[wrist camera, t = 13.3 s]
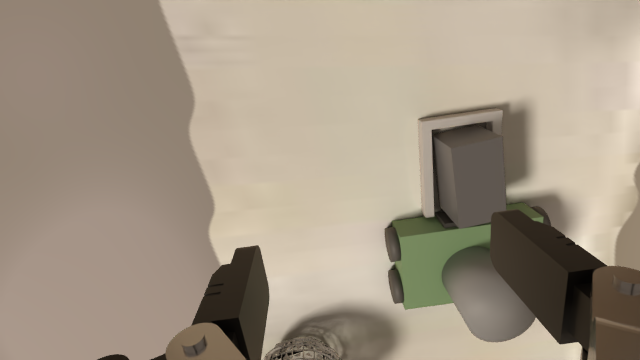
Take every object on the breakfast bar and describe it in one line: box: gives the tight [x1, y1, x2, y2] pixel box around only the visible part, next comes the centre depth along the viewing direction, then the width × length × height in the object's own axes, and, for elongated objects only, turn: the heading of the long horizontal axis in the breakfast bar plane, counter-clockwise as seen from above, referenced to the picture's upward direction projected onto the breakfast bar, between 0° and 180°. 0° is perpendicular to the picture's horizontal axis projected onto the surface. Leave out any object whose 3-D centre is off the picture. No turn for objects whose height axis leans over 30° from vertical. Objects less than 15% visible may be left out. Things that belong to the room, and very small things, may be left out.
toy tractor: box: [385, 108, 551, 342], centre depth 38 cm, size 22×18×11 cm
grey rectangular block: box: [432, 124, 506, 229], centre depth 39 cm, size 9×5×6 cm, turn 13°
